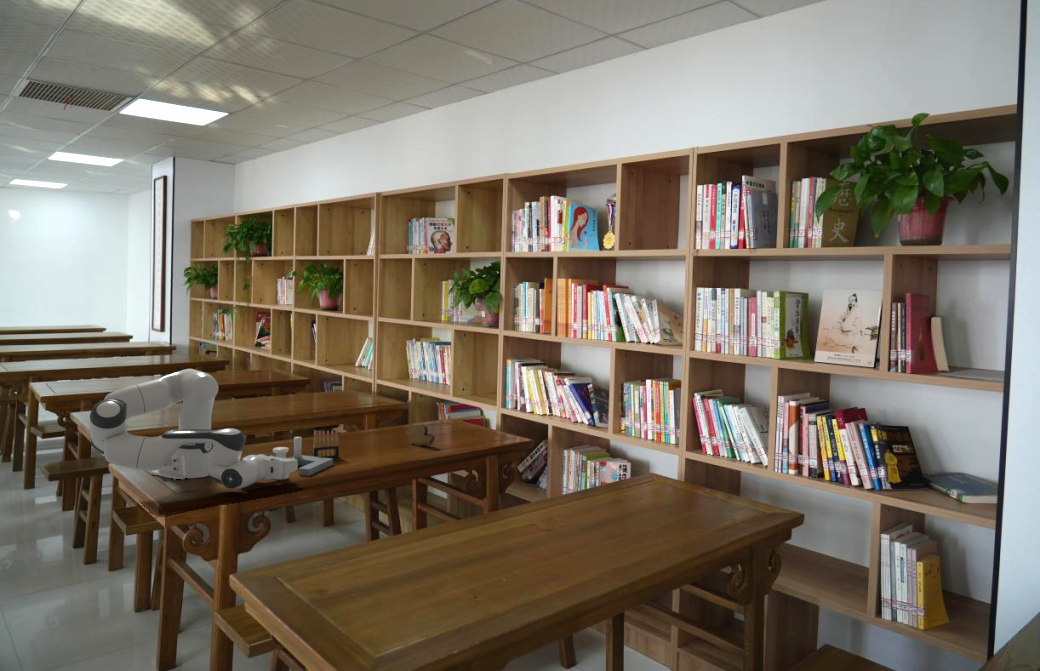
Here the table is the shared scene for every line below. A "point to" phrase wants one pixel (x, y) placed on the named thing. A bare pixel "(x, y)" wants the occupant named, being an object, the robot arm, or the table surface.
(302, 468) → the notched board
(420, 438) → the wooden carving
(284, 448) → the bobbin
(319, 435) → the ammunition clip
